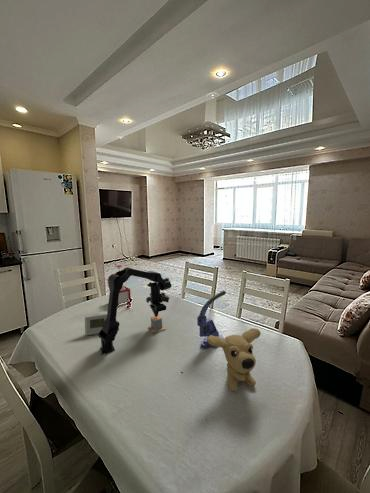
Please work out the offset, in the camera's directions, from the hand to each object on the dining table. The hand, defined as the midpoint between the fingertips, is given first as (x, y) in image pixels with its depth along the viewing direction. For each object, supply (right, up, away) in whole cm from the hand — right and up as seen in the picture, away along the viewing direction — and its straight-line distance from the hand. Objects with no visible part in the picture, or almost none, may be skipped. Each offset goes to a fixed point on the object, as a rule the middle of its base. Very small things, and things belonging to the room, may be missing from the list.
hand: (156, 316), depth 144 cm
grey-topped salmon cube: (0, -7, +1) cm, 7 cm away
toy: (+40, -14, -44) cm, 61 cm away
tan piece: (0, -8, +1) cm, 8 cm away
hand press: (+33, -10, -15) cm, 38 cm away
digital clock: (-34, -9, -2) cm, 35 cm away
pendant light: (-34, -2, +44) cm, 55 cm away
